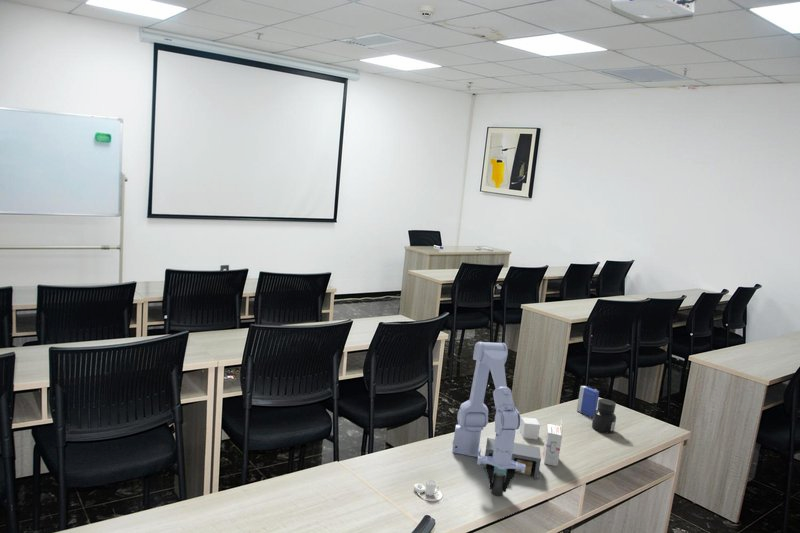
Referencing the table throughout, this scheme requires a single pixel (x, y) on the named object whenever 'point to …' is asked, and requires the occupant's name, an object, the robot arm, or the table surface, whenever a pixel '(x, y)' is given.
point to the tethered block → (498, 481)
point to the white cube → (529, 428)
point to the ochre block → (527, 465)
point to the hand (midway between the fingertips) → (497, 489)
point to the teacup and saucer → (428, 489)
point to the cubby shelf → (519, 454)
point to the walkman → (587, 400)
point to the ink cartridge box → (552, 444)
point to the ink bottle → (604, 416)
